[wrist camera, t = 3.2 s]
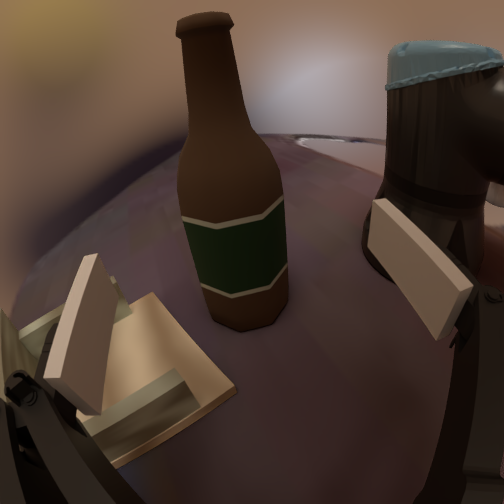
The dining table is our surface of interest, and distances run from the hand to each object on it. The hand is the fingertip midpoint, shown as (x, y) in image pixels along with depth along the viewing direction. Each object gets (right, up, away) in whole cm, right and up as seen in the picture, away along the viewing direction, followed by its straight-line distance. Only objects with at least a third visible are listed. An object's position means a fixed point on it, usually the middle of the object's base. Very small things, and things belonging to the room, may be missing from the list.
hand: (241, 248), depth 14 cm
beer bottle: (0, -5, +15) cm, 15 cm away
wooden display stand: (-11, -12, +8) cm, 18 cm away
